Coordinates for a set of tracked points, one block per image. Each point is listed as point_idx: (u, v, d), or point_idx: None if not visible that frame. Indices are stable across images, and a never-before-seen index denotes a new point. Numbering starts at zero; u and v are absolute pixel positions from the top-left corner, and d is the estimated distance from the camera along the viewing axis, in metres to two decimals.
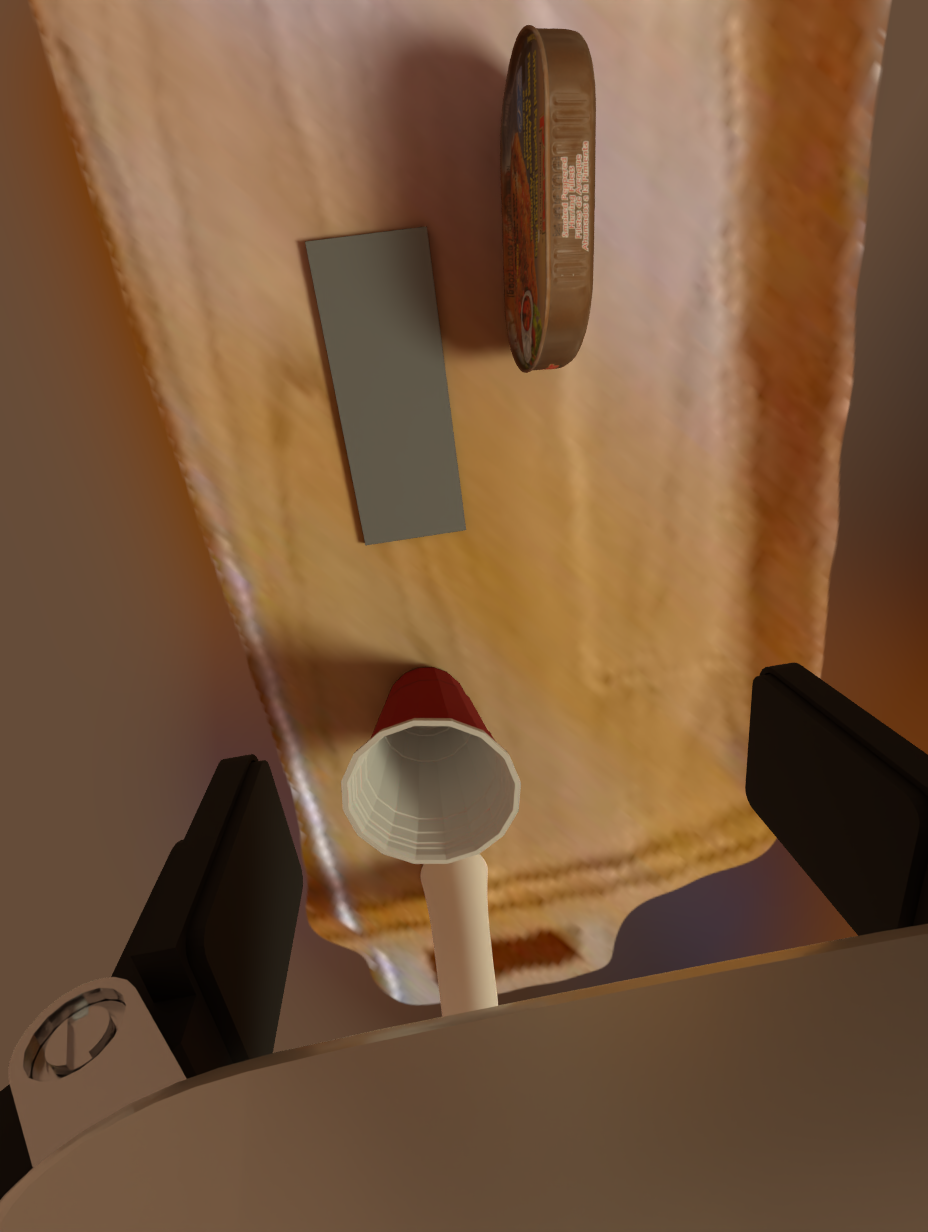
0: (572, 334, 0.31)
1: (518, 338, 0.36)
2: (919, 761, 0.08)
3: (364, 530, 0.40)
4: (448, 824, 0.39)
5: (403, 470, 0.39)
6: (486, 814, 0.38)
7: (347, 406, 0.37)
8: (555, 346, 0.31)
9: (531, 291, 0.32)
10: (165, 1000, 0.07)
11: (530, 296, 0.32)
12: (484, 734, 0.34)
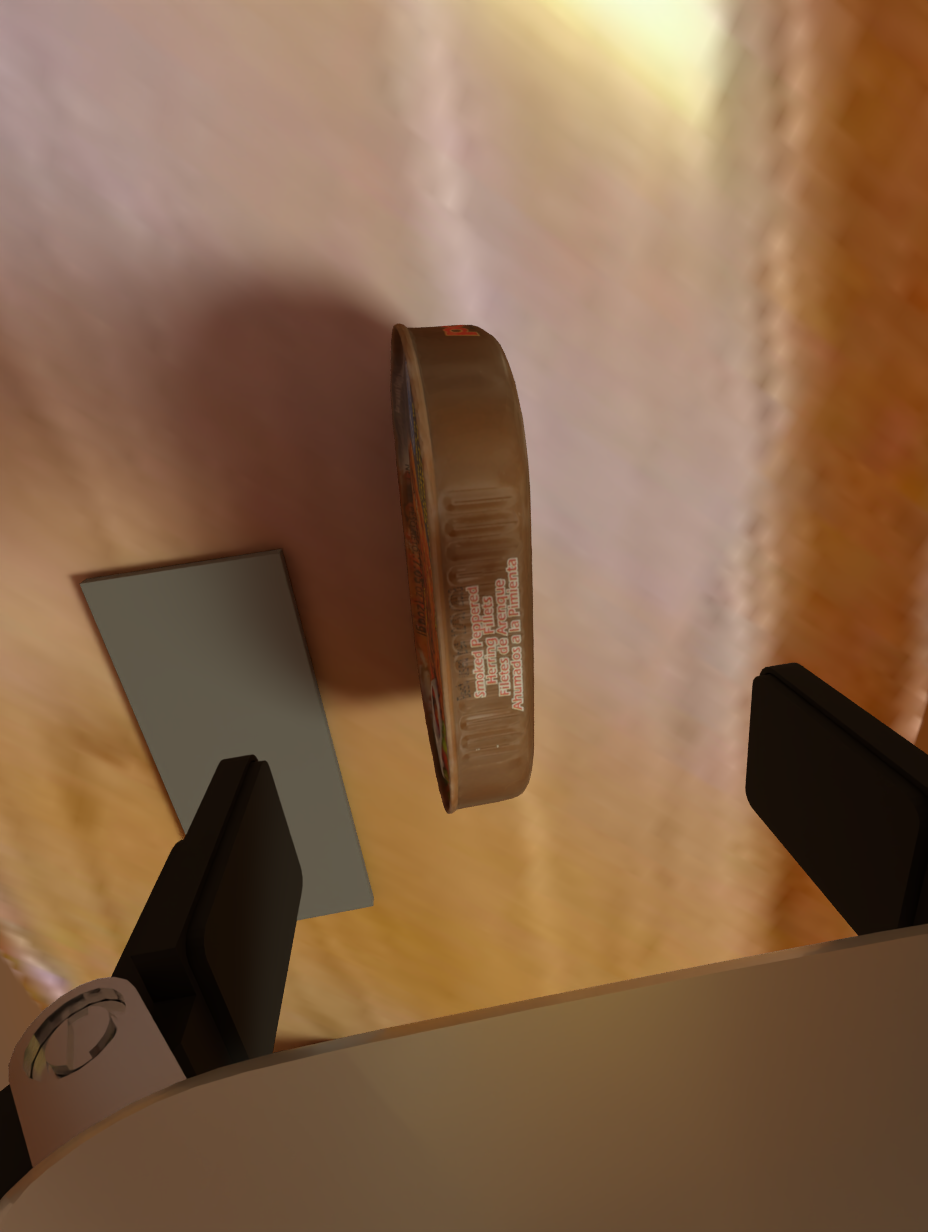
0: (504, 798, 0.18)
1: None
2: (919, 761, 0.08)
3: None
4: None
5: None
6: None
7: (179, 782, 0.24)
8: (476, 805, 0.19)
9: (440, 699, 0.19)
10: (165, 1000, 0.07)
11: (437, 705, 0.19)
12: None
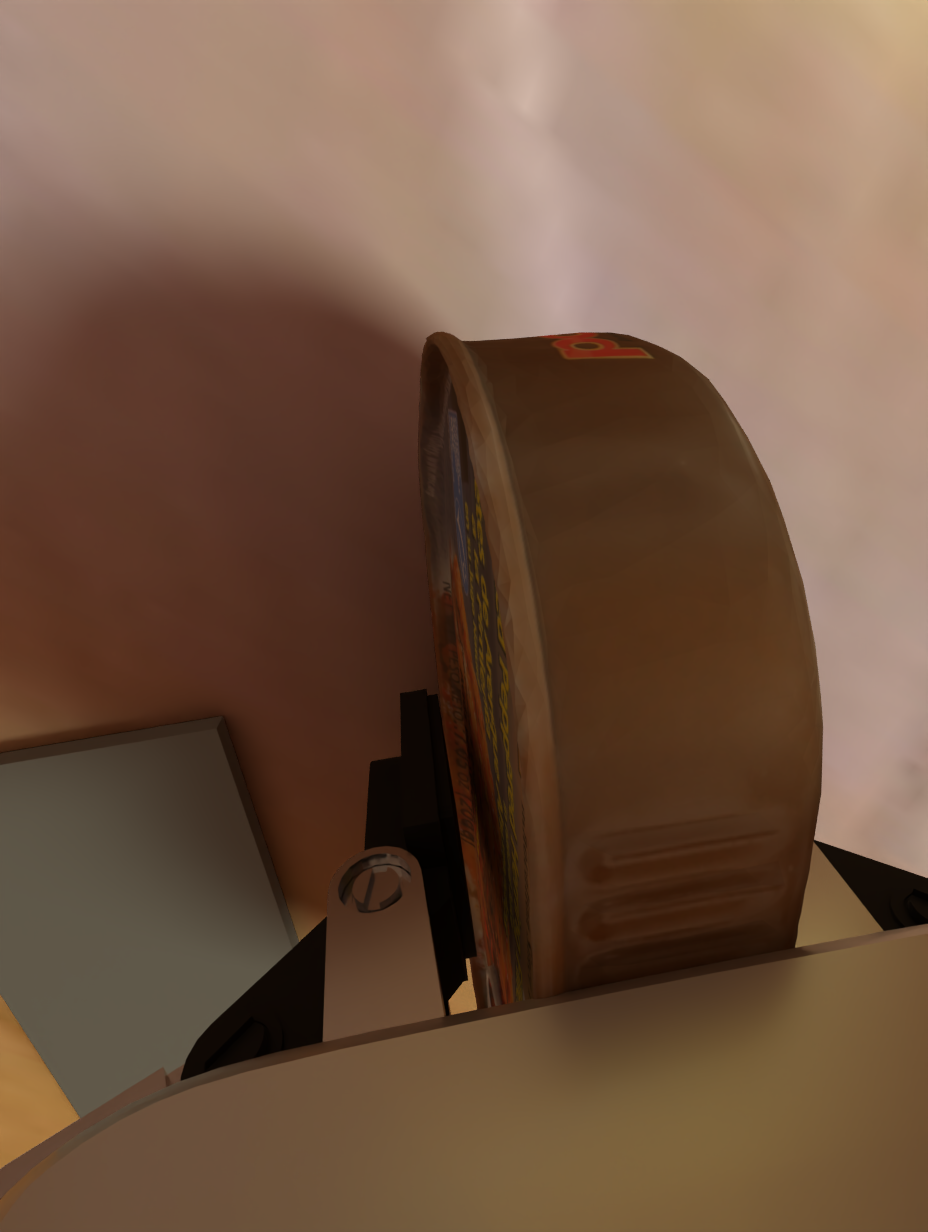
0: None
1: (486, 954, 0.14)
2: None
3: None
4: None
5: None
6: None
7: (69, 1060, 0.15)
8: None
9: None
10: (421, 870, 0.08)
11: None
12: None
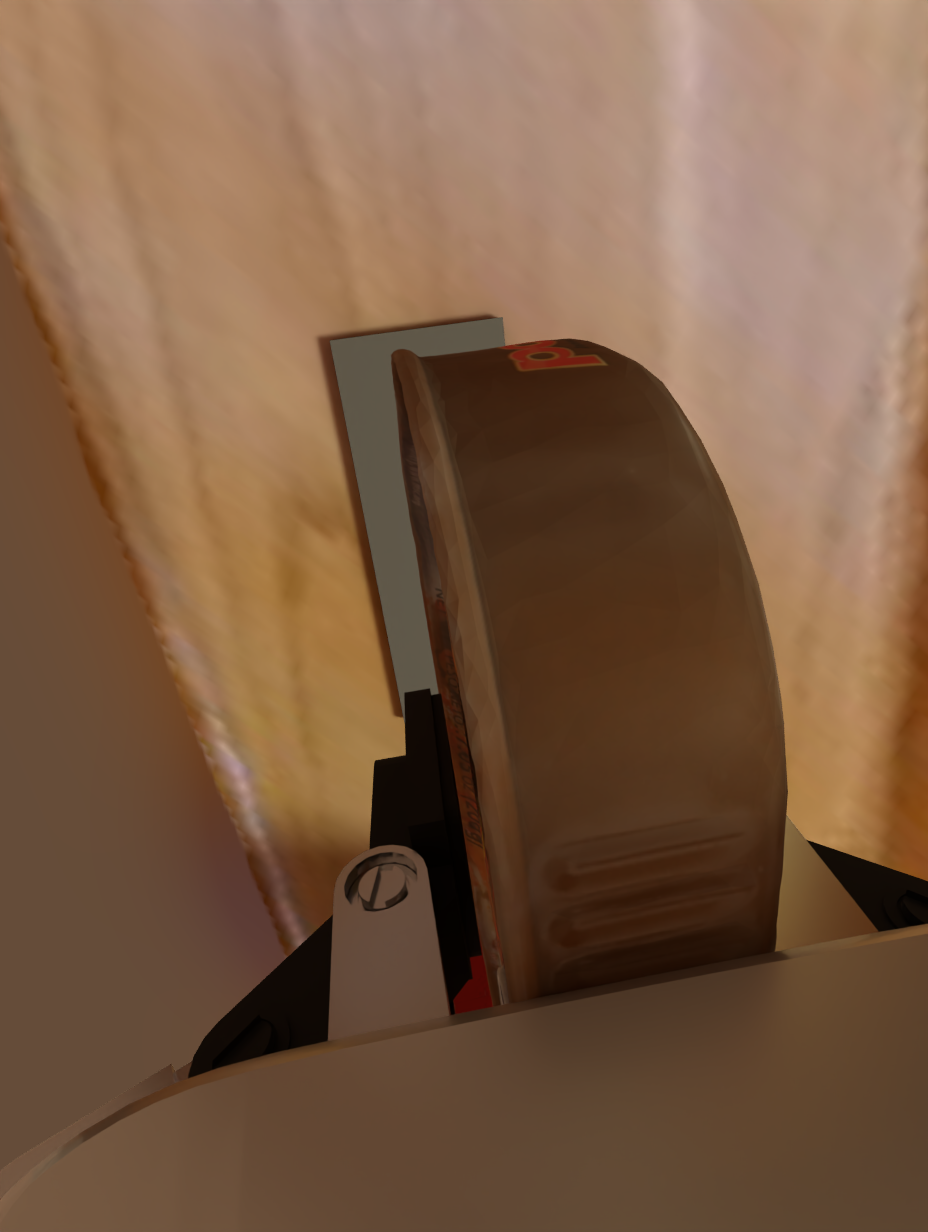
0: None
1: (499, 954, 0.14)
2: None
3: (403, 705, 0.30)
4: None
5: None
6: None
7: (384, 554, 0.27)
8: None
9: None
10: (426, 868, 0.08)
11: None
12: None
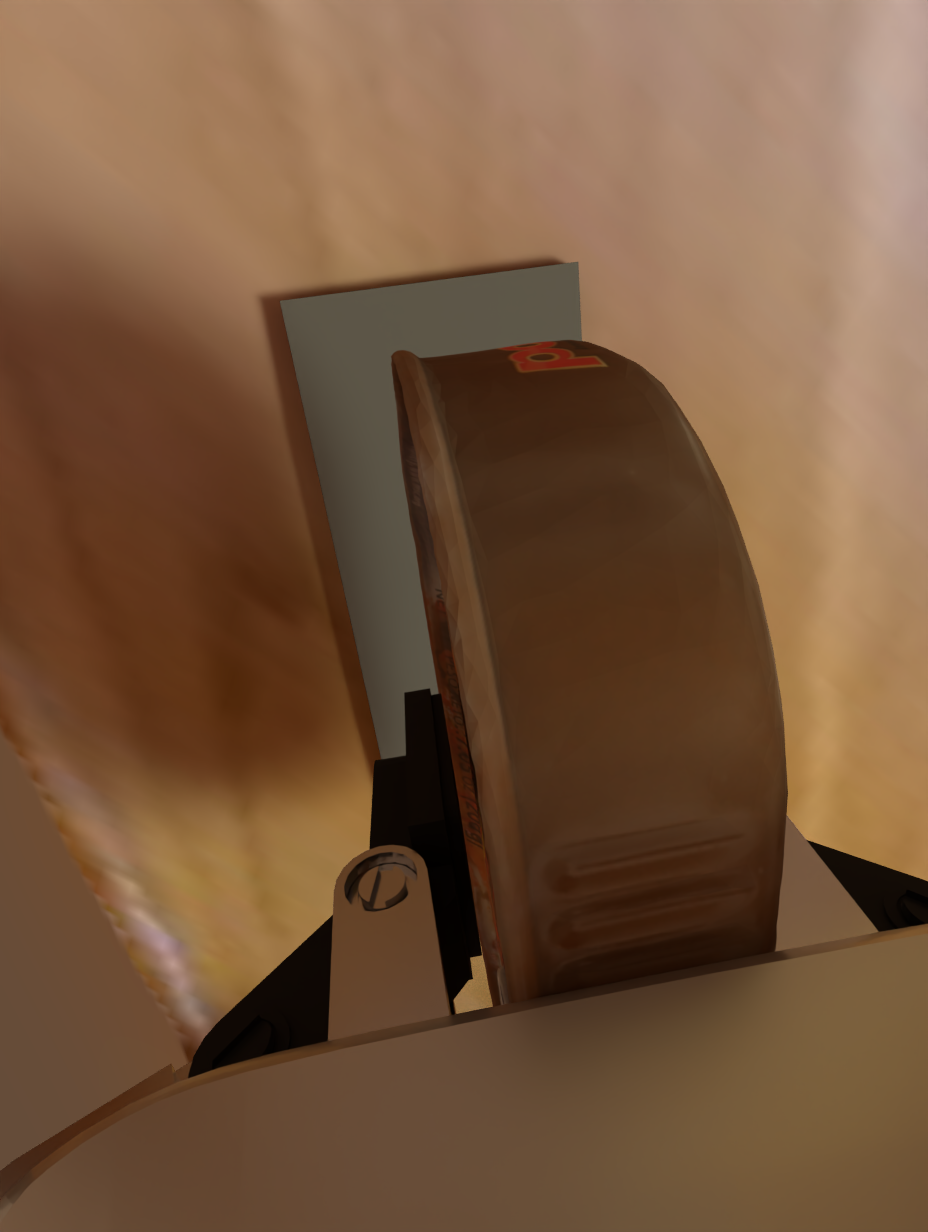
0: None
1: (499, 955, 0.14)
2: None
3: None
4: None
5: None
6: None
7: (377, 647, 0.17)
8: None
9: None
10: (426, 868, 0.08)
11: None
12: None
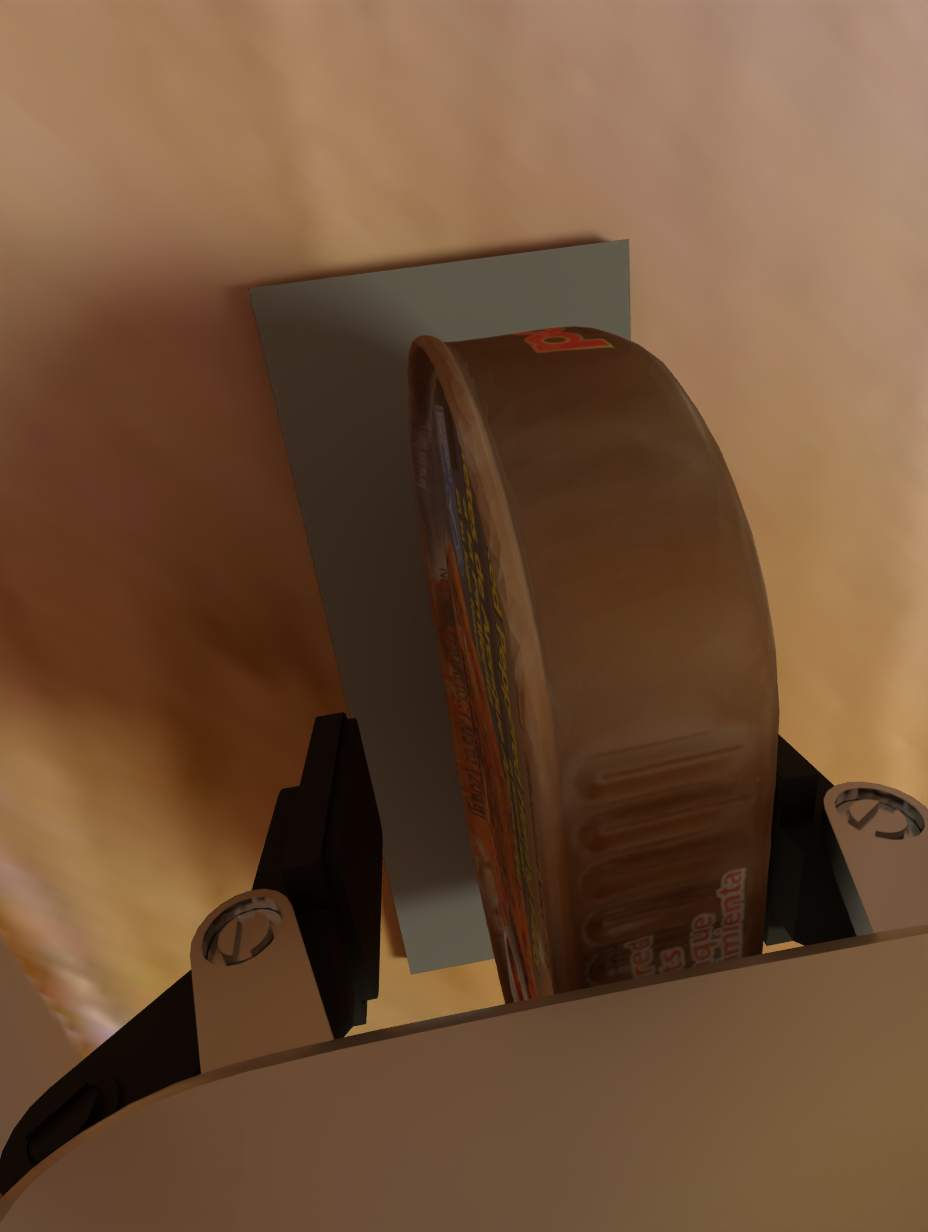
0: None
1: (503, 920, 0.15)
2: None
3: (409, 949, 0.17)
4: None
5: None
6: None
7: (374, 712, 0.14)
8: None
9: (529, 989, 0.11)
10: (304, 912, 0.08)
11: None
12: None
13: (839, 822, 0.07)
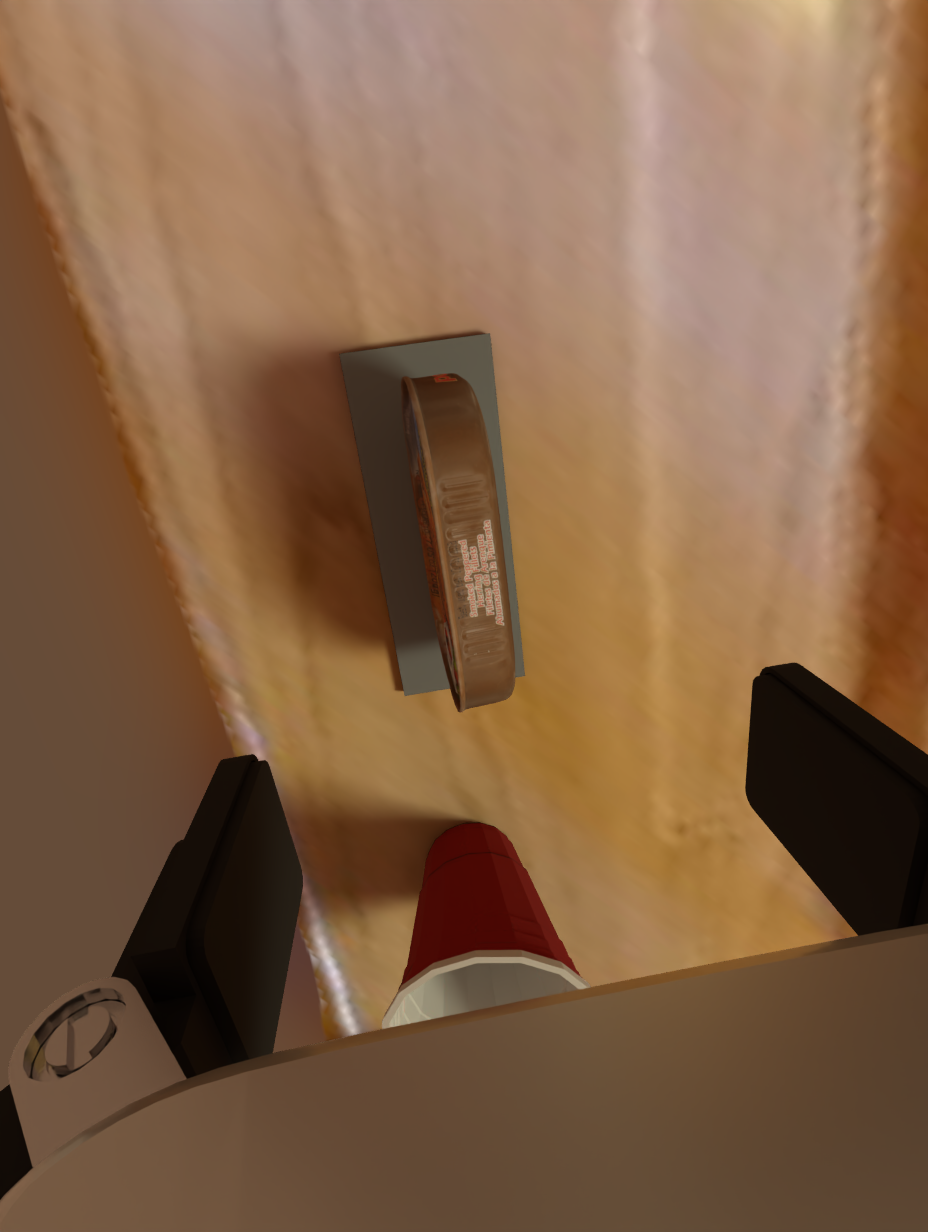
0: (498, 695, 0.26)
1: None
2: (919, 761, 0.08)
3: (403, 679, 0.33)
4: None
5: None
6: None
7: (387, 542, 0.30)
8: (480, 703, 0.26)
9: (450, 632, 0.27)
10: (165, 1000, 0.07)
11: (448, 637, 0.27)
12: (564, 970, 0.27)
13: None
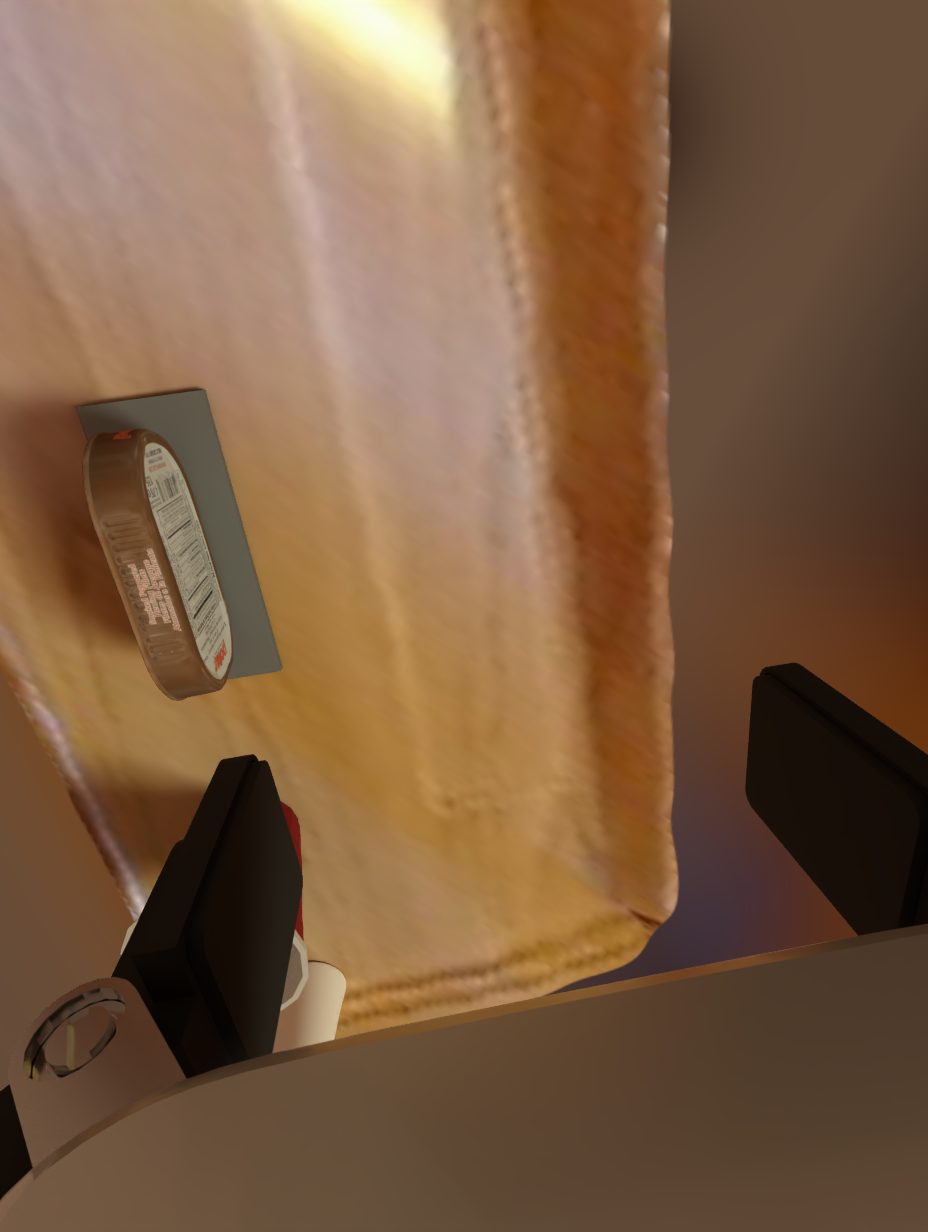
0: (197, 686, 0.32)
1: None
2: (919, 761, 0.08)
3: None
4: None
5: None
6: (288, 971, 0.37)
7: None
8: (187, 693, 0.32)
9: None
10: (165, 1000, 0.07)
11: None
12: None
13: None
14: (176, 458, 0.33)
